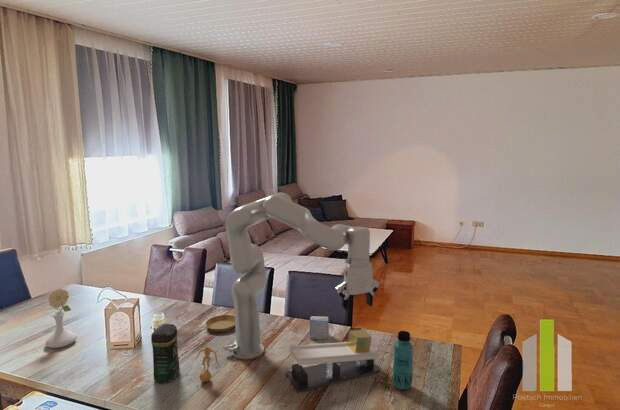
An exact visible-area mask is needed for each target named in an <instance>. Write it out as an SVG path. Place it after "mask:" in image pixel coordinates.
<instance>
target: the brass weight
mask: <svg viewBox="0 0 620 410" xmlns="http://www.w3.org/2000/svg"><path fill="white" fill-rule="evenodd" d="M372 338H373V337H372V336H371V334H369V333H368V332H367V331H365V330H364V329H359V330H349V332H348V339H347V340H348V341H347V342H348V347H349V348H350V349H351V350H352V351H353V352H354V353H366V352H370V349H371V345H372V344H371V343H372Z"/></svg>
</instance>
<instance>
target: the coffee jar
mask: <svg viewBox="0 0 620 410" xmlns="http://www.w3.org/2000/svg"><path fill="white" fill-rule="evenodd" d="M150 337H151V339H150V340H151V346H152V359H153V361H152V362H153V363H152V364H153V381H155V382H156V383H157V382H158V383H167V382H172V381H173V380H174V379H175V378H176V377H177V375H178V374H179V373H180V361H179V358H180V357H179V350H178V348H179V347H178V329H177V326H176V324H174V323H163V324H162V325H159V326H158V327H157V328H156V329H155V330H154V331H153V332H152V333H151V336H150Z"/></svg>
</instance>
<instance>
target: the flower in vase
mask: <svg viewBox="0 0 620 410" xmlns="http://www.w3.org/2000/svg"><path fill="white" fill-rule="evenodd" d="M69 298H70V295H69V291H68V290H66V289H64V288H61V287H60V288H58V289H55V290H53V291H51V293H50V294H49V297H48V303H49V306H50V307H51V308H52V309H54V310H57V311H54V312H52V313H51V314H50V315H51V317H53V319H54V321H55V325H56V329H55V331H54V332H53V333H52V334H50V336H49V337H48V338H47V340H45V346H46V347H47V348H50V349H56V348H63V347H65V346H69V345H71V344H73V343H74V342H75V341H76V340H77V338H78V336H77V334H76V333H75V332H73V331H70V330H67V329H65V327H64V325H63V318H64V315H65V313H66V312H69V311H72V308H71V307H70V306H69V305H68V304H66V303H67V302H68V300H69Z"/></svg>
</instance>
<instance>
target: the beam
mask: <svg viewBox="0 0 620 410" xmlns="http://www.w3.org/2000/svg"><path fill="white" fill-rule="evenodd" d="M289 353H290V354H291V356H292V358H293V359H294V361H295V362H296V364H297V363H298V365H301V366H308V365H310V366H312V365H318V364H322V363H334V362H345V361H357V360H368V359H374V360H375V359H377V355H378V353H377V352H376V351H373V350H372V349H371V348H370V352H366V353H354V352H353V351H352V350H351V349H350V348H349V347H348V341H343V342H342V341H341V342H327V343H324V342H323V343H312V344H310V343H309V344H297V345H290V347H289Z"/></svg>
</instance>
